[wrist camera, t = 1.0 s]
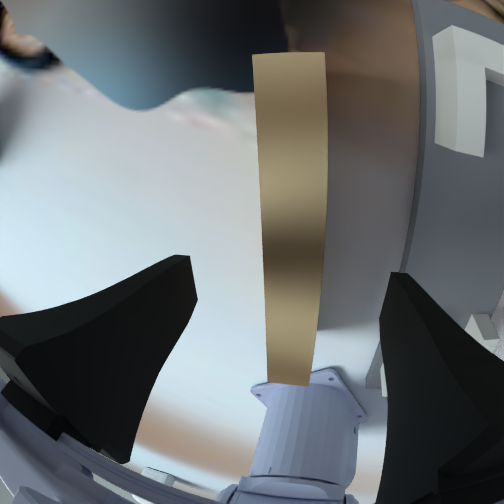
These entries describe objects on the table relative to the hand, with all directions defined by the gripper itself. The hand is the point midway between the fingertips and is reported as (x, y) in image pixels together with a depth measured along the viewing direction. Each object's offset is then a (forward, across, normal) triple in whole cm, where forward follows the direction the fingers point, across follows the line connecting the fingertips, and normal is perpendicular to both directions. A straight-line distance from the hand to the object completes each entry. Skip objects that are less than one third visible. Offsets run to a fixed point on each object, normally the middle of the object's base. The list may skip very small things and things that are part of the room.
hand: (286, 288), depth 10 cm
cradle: (+6, -10, 0) cm, 12 cm away
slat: (+7, 0, 0) cm, 7 cm away
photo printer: (+6, +32, +74) cm, 81 cm away
